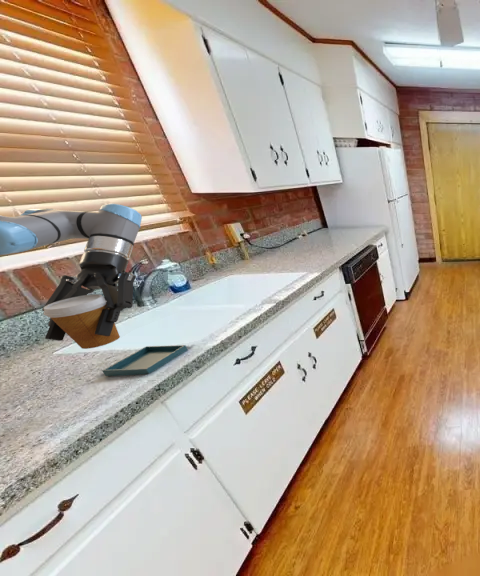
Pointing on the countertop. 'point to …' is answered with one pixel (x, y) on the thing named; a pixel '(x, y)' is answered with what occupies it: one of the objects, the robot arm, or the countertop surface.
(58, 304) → the disposable coffee cup
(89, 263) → the robot arm
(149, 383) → the countertop surface
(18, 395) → the countertop surface
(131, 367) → the cup tray
